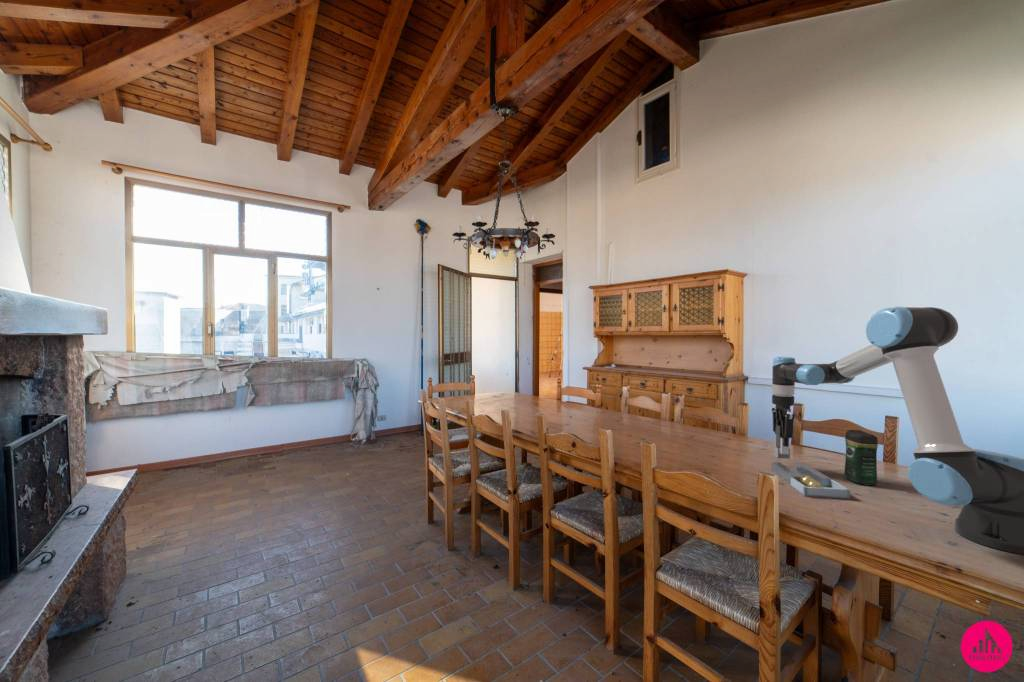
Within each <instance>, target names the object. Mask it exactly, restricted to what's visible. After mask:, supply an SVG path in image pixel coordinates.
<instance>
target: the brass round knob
mask: <svg viewBox="0 0 1024 682" xmlns="http://www.w3.org/2000/svg"><path fill="white" fill-rule="evenodd" d="M809 479H813V478H811V477H810V476H807V475H804V476H802V477H801V478H800V483H801V484H803V485H804V486H805V483H806V481H807V480H809ZM813 480H814V479H813Z"/></svg>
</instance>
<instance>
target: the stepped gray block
mask: <svg viewBox="0 0 1024 682" xmlns="http://www.w3.org/2000/svg"><path fill="white" fill-rule="evenodd" d="M780 436H782V428H781V425H779V424H776V434H775V445H774V447H773V456H774V457H776V458H777V459H786V460H787V459H791V458H790V457H791V449H790V448H789V454H781V453H780V446H781V438H780Z"/></svg>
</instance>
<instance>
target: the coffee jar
mask: <svg viewBox="0 0 1024 682" xmlns="http://www.w3.org/2000/svg"><path fill="white" fill-rule="evenodd" d="M844 436H845V437H844V441H845V461H844V477H845V478H846V479H847V480H849V481H851V482H853V483H855V484H860V485H864V486H873V485H877V483H878V468H877V465H878V464H877V461H878V460H877V457H878V456H877V453H878V452H877V451H878V447H879V442H878V441H879V440H878V437H877V436H875V435H874V434H871V433H868V432H865V431H864V430H863V431H862V430H860V429H859V430H858V429H849V430H847V431H846V432H845V435H844Z"/></svg>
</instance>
